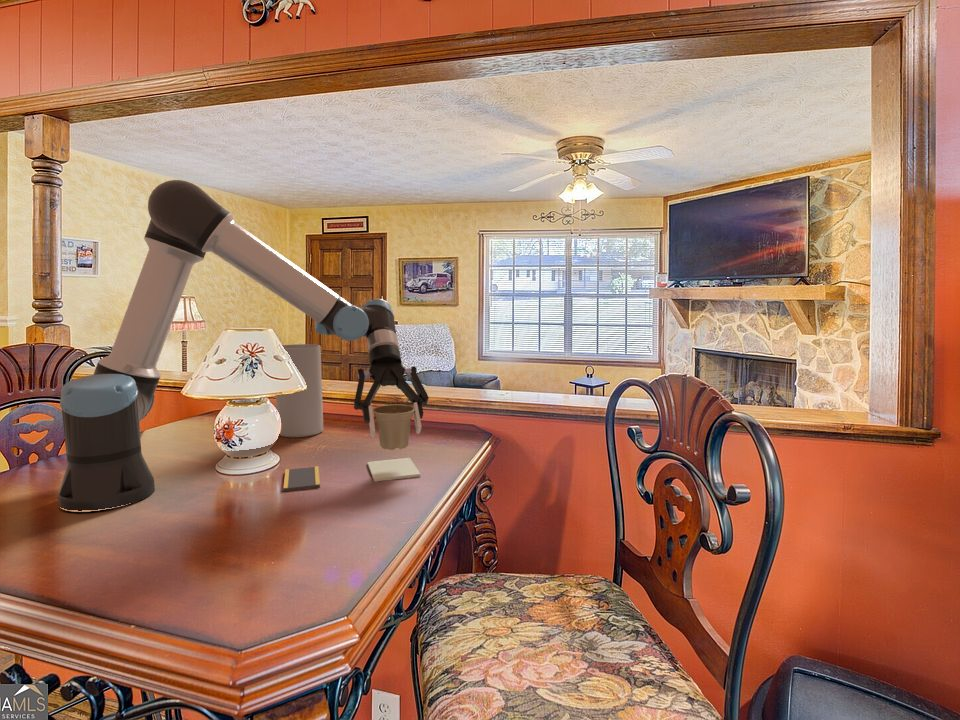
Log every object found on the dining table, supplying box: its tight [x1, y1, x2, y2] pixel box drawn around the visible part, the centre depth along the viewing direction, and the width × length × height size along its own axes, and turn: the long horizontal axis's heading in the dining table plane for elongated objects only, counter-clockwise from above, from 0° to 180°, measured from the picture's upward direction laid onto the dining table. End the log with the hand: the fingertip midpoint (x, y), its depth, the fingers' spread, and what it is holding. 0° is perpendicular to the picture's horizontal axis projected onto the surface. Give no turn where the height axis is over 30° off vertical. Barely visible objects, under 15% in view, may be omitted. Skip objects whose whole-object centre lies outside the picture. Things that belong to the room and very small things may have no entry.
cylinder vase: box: [275, 343, 324, 439], centre depth 148 cm, size 12×12×25 cm
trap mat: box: [283, 465, 321, 492], centre depth 111 cm, size 7×12×1 cm, turn 19°
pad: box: [367, 457, 421, 482], centre depth 117 cm, size 10×12×1 cm
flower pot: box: [372, 404, 415, 451], centre depth 116 cm, size 9×9×9 cm
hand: (396, 432), depth 113 cm, fingers closed on flower pot, 9 cm apart
